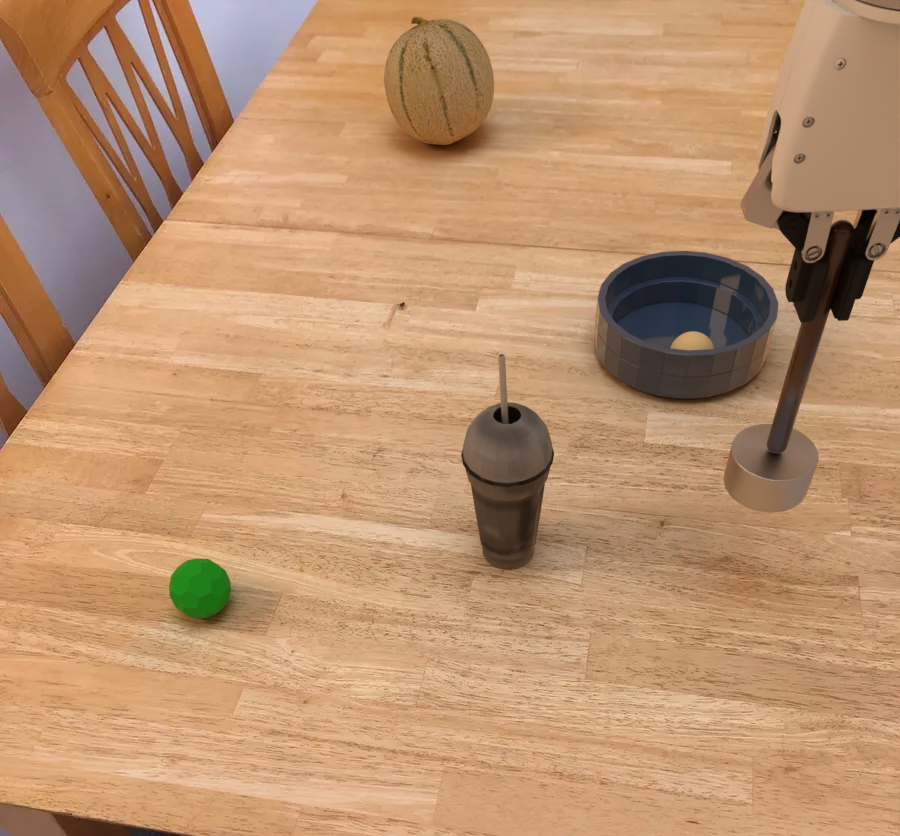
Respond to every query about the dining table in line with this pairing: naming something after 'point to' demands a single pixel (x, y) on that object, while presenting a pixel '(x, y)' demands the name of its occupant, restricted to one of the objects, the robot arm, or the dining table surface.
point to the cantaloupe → (439, 81)
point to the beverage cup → (507, 477)
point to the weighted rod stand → (787, 414)
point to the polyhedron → (199, 588)
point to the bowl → (684, 323)
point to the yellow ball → (692, 341)
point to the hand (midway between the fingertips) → (818, 306)
